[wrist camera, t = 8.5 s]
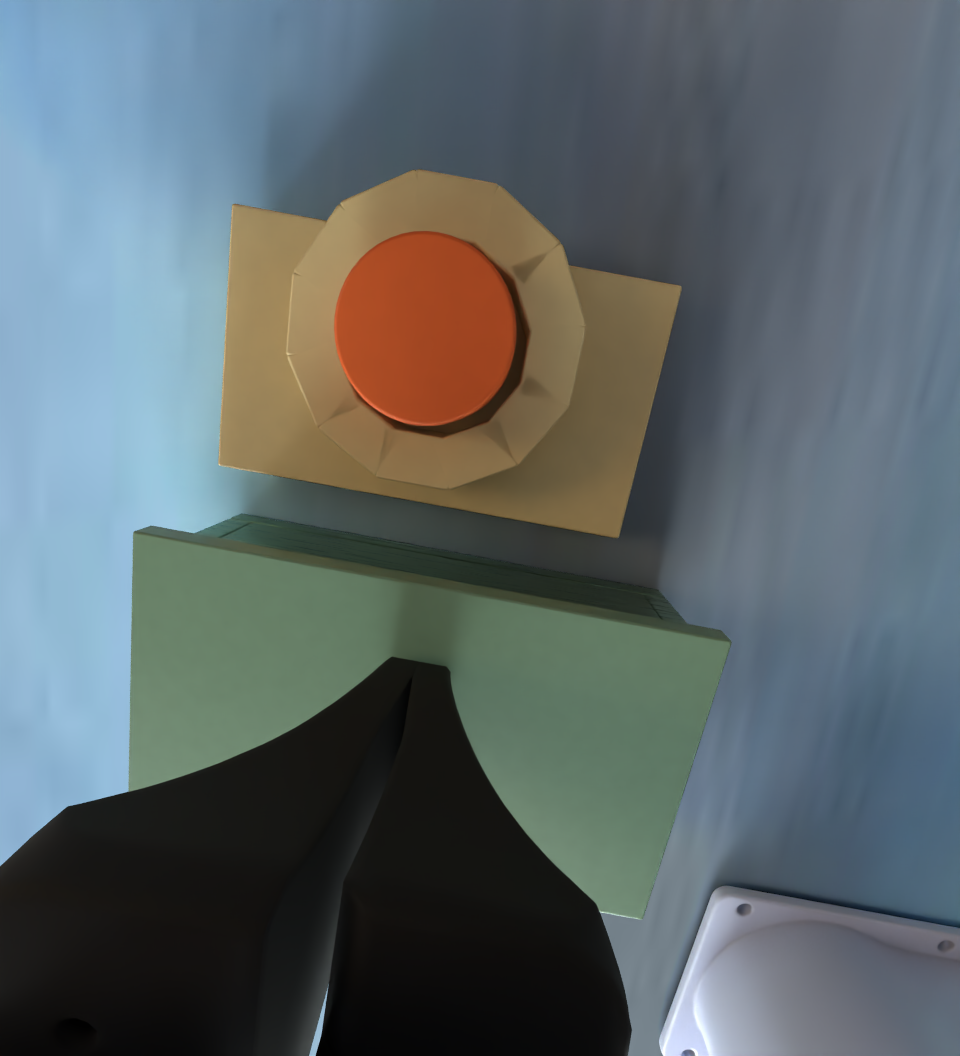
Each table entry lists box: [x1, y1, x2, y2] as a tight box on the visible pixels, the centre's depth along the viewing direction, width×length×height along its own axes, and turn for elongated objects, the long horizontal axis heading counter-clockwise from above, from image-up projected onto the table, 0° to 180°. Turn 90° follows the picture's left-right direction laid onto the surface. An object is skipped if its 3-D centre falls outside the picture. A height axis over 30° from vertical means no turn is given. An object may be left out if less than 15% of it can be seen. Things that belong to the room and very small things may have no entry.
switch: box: [334, 231, 517, 426], centre depth 11 cm, size 4×4×2 cm
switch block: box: [218, 169, 682, 538], centre depth 13 cm, size 11×7×3 cm, turn 80°
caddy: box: [194, 514, 687, 624], centre depth 14 cm, size 7×13×4 cm, turn 80°
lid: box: [129, 526, 731, 919], centre depth 12 cm, size 8×13×1 cm, turn 80°
